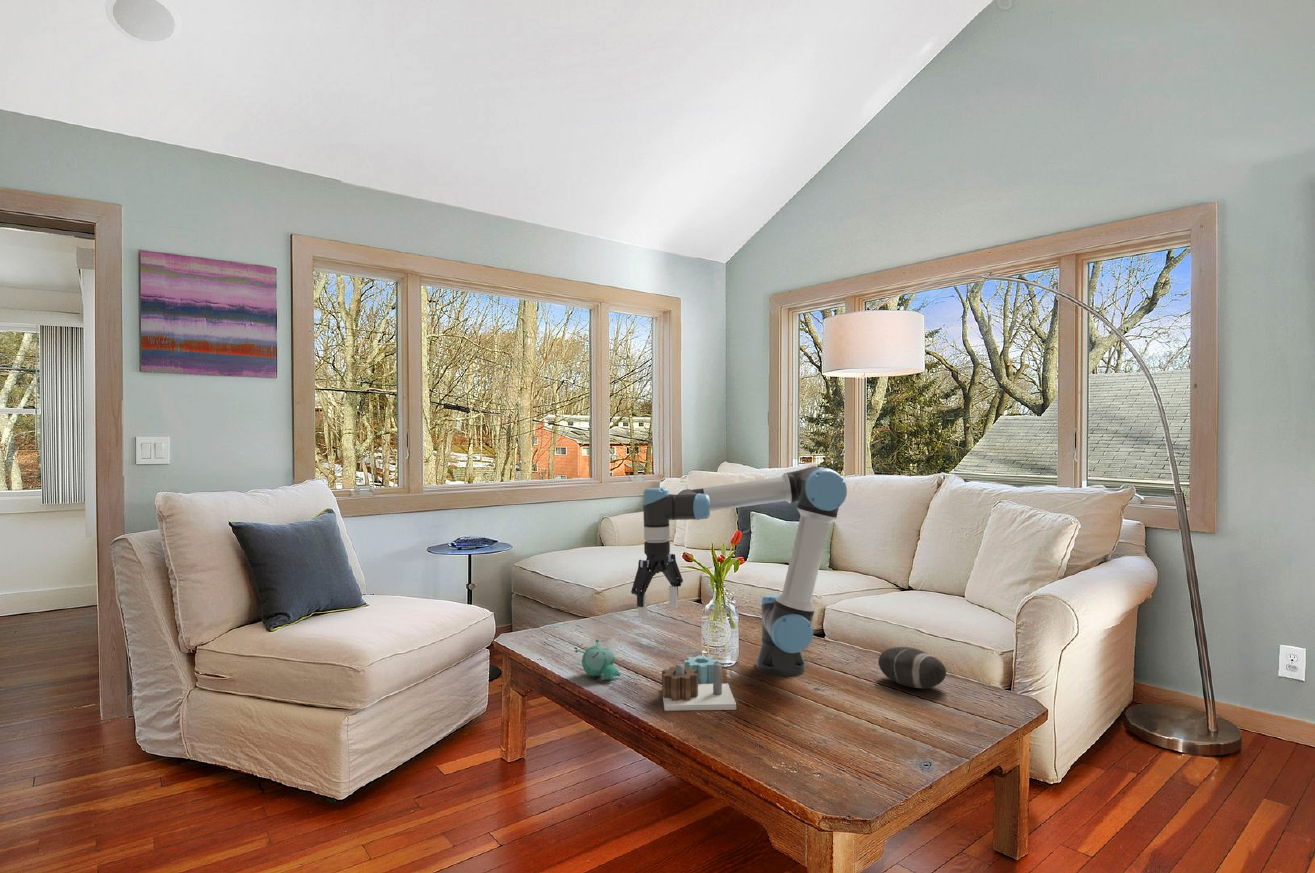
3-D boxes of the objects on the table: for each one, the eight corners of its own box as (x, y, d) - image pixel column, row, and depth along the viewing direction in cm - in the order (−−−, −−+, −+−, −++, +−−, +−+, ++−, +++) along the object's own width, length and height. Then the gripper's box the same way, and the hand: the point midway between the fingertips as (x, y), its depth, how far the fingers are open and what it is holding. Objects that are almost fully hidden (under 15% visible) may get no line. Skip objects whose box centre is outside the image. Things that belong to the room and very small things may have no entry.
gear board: (728, 688, 198) (727, 655, 198) (736, 709, 183) (735, 673, 183) (662, 689, 197) (661, 656, 197) (664, 710, 182) (664, 675, 182)
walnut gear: (687, 685, 197) (687, 664, 197) (704, 697, 188) (704, 675, 187) (655, 690, 192) (655, 669, 192) (671, 703, 183) (671, 681, 183)
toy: (617, 670, 200) (584, 632, 205) (597, 695, 201) (564, 657, 207) (632, 663, 209) (600, 627, 214) (612, 687, 210) (581, 650, 216)
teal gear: (716, 674, 209) (715, 655, 209) (720, 686, 199) (720, 666, 199) (683, 675, 209) (683, 655, 209) (685, 687, 199) (685, 666, 199)
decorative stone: (955, 687, 198) (955, 652, 198) (928, 699, 189) (928, 663, 189) (895, 669, 213) (895, 637, 213) (868, 680, 204) (868, 646, 204)
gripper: (674, 534, 214) (676, 602, 214) (617, 545, 195) (619, 619, 195) (693, 536, 209) (694, 606, 209) (637, 547, 190) (638, 624, 190)
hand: (658, 612), depth 202 cm, fingers open, 13 cm apart
